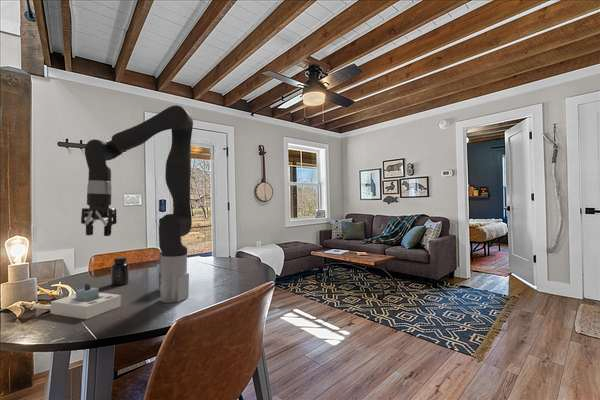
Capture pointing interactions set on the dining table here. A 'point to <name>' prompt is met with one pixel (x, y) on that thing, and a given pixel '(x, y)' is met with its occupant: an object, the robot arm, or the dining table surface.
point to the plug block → (87, 294)
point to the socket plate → (85, 306)
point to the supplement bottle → (120, 272)
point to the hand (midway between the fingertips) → (98, 235)
